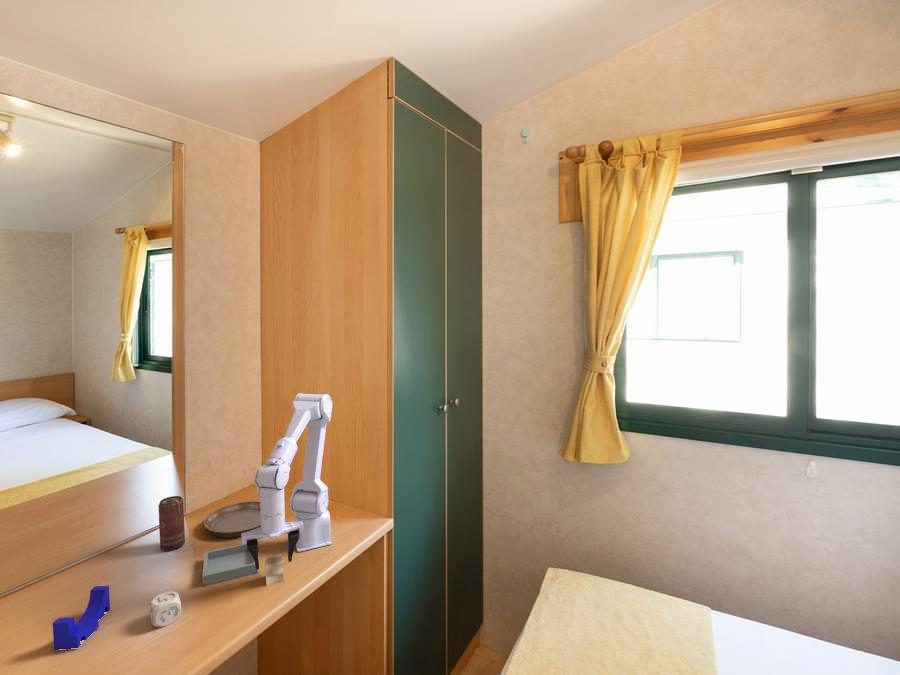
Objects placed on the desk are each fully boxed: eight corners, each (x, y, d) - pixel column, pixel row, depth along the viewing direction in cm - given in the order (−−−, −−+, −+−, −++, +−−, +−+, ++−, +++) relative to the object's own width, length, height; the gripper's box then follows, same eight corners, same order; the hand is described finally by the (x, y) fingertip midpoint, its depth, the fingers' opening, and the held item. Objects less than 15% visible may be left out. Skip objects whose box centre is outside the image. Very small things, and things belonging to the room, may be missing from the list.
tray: (255, 549, 127) (254, 541, 126) (257, 572, 115) (257, 563, 115) (205, 560, 121) (204, 552, 121) (202, 586, 110) (202, 576, 110)
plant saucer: (284, 526, 141) (284, 516, 140) (212, 549, 127) (212, 538, 127) (263, 505, 156) (263, 495, 156) (198, 523, 143) (197, 513, 143)
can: (174, 553, 125) (172, 505, 124) (155, 550, 126) (153, 503, 125) (190, 542, 131) (188, 496, 130) (172, 539, 132) (170, 494, 131)
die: (149, 619, 98) (148, 598, 98) (175, 608, 102) (174, 588, 101) (155, 631, 94) (154, 608, 94) (181, 619, 98) (181, 597, 98)
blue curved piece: (78, 650, 89) (76, 621, 89) (54, 651, 89) (52, 623, 89) (117, 610, 101) (115, 585, 101) (96, 611, 101) (94, 586, 101)
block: (281, 572, 115) (281, 554, 115) (283, 581, 112) (283, 562, 112) (265, 577, 114) (264, 558, 113) (266, 585, 110) (266, 566, 110)
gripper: (241, 524, 105) (242, 579, 106) (304, 512, 111) (305, 564, 112) (240, 512, 111) (242, 564, 112) (300, 501, 118) (301, 550, 118)
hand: (273, 563), depth 112 cm, fingers open, 7 cm apart
